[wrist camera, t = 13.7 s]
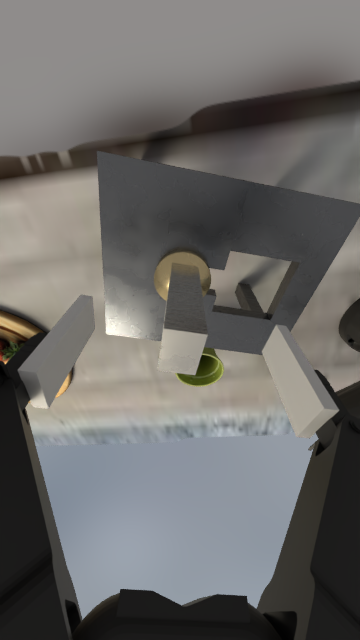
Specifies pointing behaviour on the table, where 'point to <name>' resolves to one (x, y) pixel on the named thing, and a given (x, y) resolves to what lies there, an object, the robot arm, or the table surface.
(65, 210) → the table surface
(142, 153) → the table surface
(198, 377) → the plant pot
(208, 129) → the table surface
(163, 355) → the brass hanging weight
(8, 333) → the wooden plate with food
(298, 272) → the shelf
